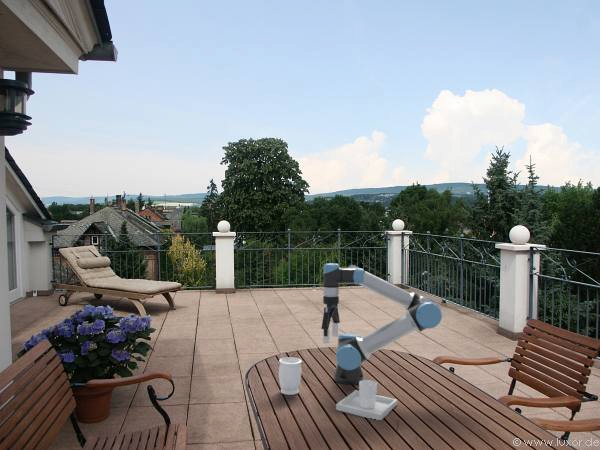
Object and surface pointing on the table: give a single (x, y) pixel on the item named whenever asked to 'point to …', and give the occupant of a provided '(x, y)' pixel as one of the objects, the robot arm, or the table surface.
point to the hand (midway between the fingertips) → (330, 339)
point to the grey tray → (353, 406)
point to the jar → (289, 375)
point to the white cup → (367, 393)
